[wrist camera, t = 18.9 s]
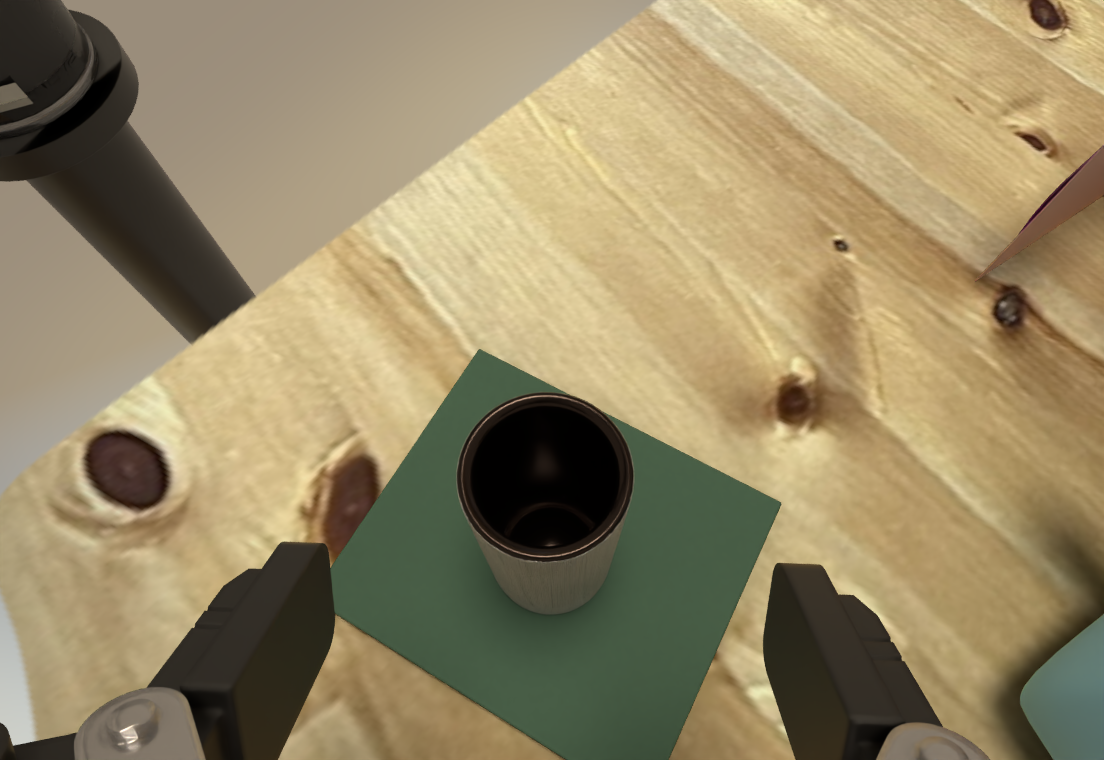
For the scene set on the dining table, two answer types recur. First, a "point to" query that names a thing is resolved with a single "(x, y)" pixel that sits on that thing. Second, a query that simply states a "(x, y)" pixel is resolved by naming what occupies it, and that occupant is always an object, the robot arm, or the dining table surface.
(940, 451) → the dining table surface
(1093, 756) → the teapot
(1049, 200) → the greeting card
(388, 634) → the green mat
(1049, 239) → the dining table surface
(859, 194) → the dining table surface
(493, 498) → the planter
